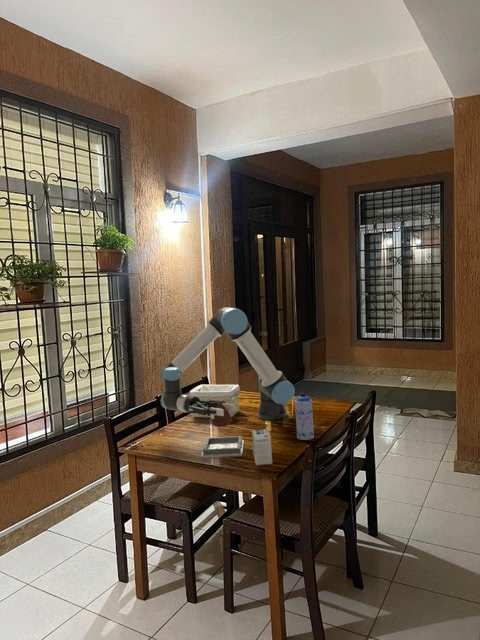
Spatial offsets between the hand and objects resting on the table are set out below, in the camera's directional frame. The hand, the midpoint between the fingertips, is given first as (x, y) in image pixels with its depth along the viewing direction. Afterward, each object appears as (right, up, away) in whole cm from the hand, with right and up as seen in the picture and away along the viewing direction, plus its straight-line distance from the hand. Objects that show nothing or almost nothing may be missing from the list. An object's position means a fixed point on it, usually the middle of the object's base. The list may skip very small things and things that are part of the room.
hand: (228, 410), depth 204 cm
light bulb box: (+14, -18, -9) cm, 25 cm away
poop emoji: (-3, -7, +4) cm, 8 cm away
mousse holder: (-2, -18, +5) cm, 19 cm away
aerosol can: (+34, -15, +14) cm, 40 cm away
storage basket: (-8, -13, +59) cm, 61 cm away
